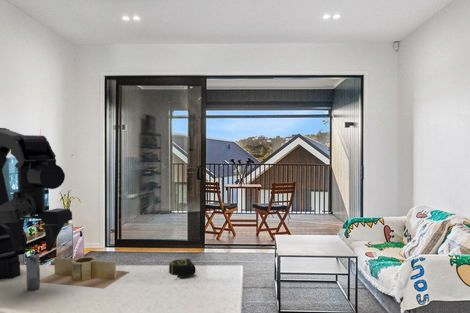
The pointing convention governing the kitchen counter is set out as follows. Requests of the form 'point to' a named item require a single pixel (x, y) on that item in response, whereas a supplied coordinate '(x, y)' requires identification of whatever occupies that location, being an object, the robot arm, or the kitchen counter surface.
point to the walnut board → (87, 283)
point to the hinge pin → (33, 272)
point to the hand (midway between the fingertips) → (33, 249)
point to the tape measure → (182, 267)
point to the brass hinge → (85, 268)
